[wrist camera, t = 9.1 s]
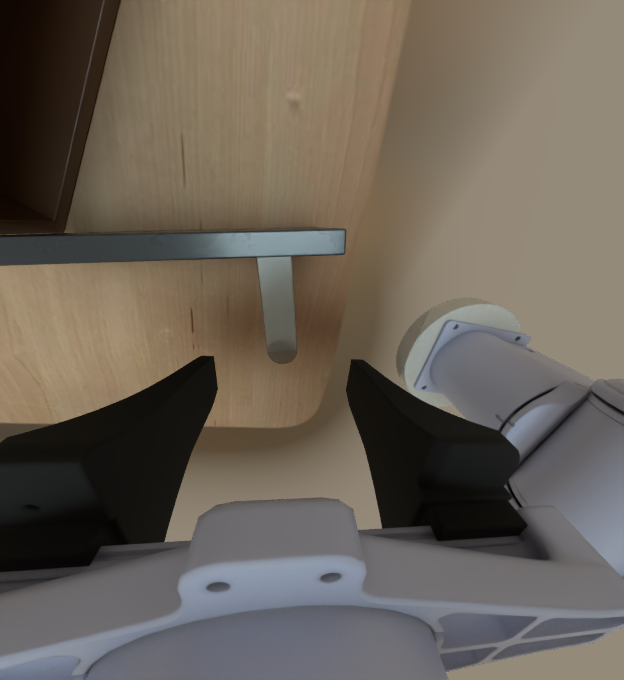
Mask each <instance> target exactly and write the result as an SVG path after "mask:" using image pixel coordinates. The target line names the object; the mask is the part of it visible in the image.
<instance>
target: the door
mask: <svg viewBox="0 0 624 680" xmlns="http://www.w3.org/2000/svg"><path fill="white" fill-rule="evenodd" d="M345 246H346V229H341V228H319V227H308V228H264V229H220V230H176V231H132V232H88V233H51V234H18V235H0V266H7V265H39V264H70V263H102V262H134V261H165V260H197V259H228V258H256V259H257V268H258V276H259V284H260V292H261V301H262V309H263V317H264V326H265V334H266V342H267V351H268V355H269V357H270V359H271V360H273V361H274V362H276V363H279V364H286V363H289V362H291V361H292V360H293V359H294V358H295V356H296V354H297V344H296V326H295V308H294V290H293V272H292V256H323V255H344V254H345Z"/></svg>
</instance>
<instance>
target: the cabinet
mask: <svg viewBox="0 0 624 680" xmlns="http://www.w3.org/2000/svg"><path fill="white" fill-rule="evenodd" d="M118 4H119V0H0V235H6V234H40V233H63V231H64V227H65V223H66V219H67V215H68V211H69V206H70V202H71V198H72V194H73V190H74V186H75V182H76V178H77V173H78V169H79V165H80V161H81V157H82V153H83V149H84V145H85V140H86V136H87V132H88V128H89V124H90V120H91V116H92V112H93V107H94V103H95V99H96V95H97V91H98V87H99V83H100V79H101V75H102V70H103V66H104V62H105V58H106V54H107V50H108V46H109V42H110V37H111V33H112V29H113V25H114V21H115V17H116V13H117V9H118Z"/></svg>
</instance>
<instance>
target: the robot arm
mask: <svg viewBox="0 0 624 680" xmlns="http://www.w3.org/2000/svg"><path fill="white" fill-rule="evenodd" d="M455 324H456V326H455V327H454V328H453V326H454V325H455ZM530 339H531V337H530V336H528V335H526V334H522V333H517V332H512V331H507V330H502V329H497V328H492V327H486V326H481V325H476V324H471V323H466V322H461V321H456V320H447V321H446V322H445V323H444V325H443V327H442V329H441V331H440V333H439V335H438V337H437V339H436V341H435V343H434V345H433V347H432V349H431V351H430V353H429V355H428V357H427V359H426V361H425V363H424V365H423V367H422V369H421V371H420V373H419V375H418V377H417V379H416V381H415V383H414V388H415V389H416V390H418V391H426V392H433V393H441V394H444V395H445V396H446V398H447V399H448V400H449V401H450V402H451V403H452V404H453V405H454V406H455V407H456V408H457V409H458V411H459V412H460V413H461V414H462V415H463V416H464V417H465V418H466V419H467V420H465V419H463V418H460V417H457V416H455V415H452V414H450V413H448V412H445V411H443V410H441V409H439V408H437V407H434V406H432V405H430V404H428V403H426V402H424V401H422V400H421V399H419V398H417V397H415V396H413V395H412V394H410V393H408V392H407V391H405V390H403V389H402V388H400V387H399V386H397V385H396V384H394V383H393V382H392V381H390V380H389V379H388V378H386V377H384V376H383V375H382V374H381V373H379V372H378V371H377V370H376V369H374V368H373V367H371V365H369V364H368V363H367V362H365V361H364V360H353V359H352V360H351V365H350V371H349V376H348V382H347V387H346V392H347V397H348V402H349V406H350V409H351V411H352V414H353V417H354V420H355V423H356V425H357V428H358V431H359V434H360V436H361V439H362V442H363V445H364V448H365V451H366V455H367V459H368V463H369V467H370V471H371V476H372V480H373V484H374V489H375V494H376V499H377V503H378V508H379V513H380V518H381V524H382V529H369V530H358V529H357V525H356V520H355V516H354V511H353V509H352V508H350V507H349V506H348V505H346V504H344V503H343V502H341V501H340V500H338V499H330V498H302V499H301V498H300V499H278V500H256V501H235V502H229V503H225V504H220V505H216V506H214V507H213V508H211V509H210V510H208V511H207V512H205V513H204V514H202V515H201V516H200V517H199V518H198V521H197V524H196V527H195V530H194V533H193V537H192V540H191V541H177V542H164V541H165V537H166V533H167V529H168V526H169V522H170V519H171V515H172V512H173V509H174V505H175V502H176V498H177V495H178V492H179V489H180V486H181V482H182V479H183V476H184V473H185V470H186V467H187V464H188V461H189V458H190V456H191V453H192V450H193V448H194V446H195V443H196V441H197V439H198V437H199V434H200V432H201V430H202V428H203V426H204V424H205V422H206V420H207V417H208V415H209V413H210V411H211V409H212V406H213V403H214V400H215V397H216V393H217V390H218V387H217V378H216V370H215V362H214V356H200V357H198V358H197V359H195V360H193V361H192V362H190V363H189V364H187V365H185V366H184V367H182V368H181V369H179V370H177V371H176V372H174V373H173V374H171V375H169V376H168V377H166V378H164V379H162V380H161V381H159V382H157V383H155V384H154V385H152V386H150V387H148V388H146V389H144V390H142V391H140V392H138V393H136V394H134V395H132V396H130V397H128V398H125V399H123V400H121V401H118V402H116V403H113V404H111V405H108V406H106V407H103V408H101V409H98V410H96V411H93V412H90V413H87V414H85V415H82V416H79V417H76V418H73V419H70V420H67V421H64V422H60V423H57V424H54V425H50V426H47V427H43V428H40V429H36V430H33V431H29V432H25V433H22V434H18V435H15V436H10V437H7V438H6V439H5V440H3V441H2V442H1V443H0V680H448V677H447V674H446V672H449V671H453V670H458V669H462V668H467V667H471V666H476V665H481V664H485V663H489V662H494V661H498V660H503V659H508V658H513V657H517V656H522V655H527V654H532V653H537V652H542V651H548V650H553V649H559V648H565V647H571V646H578V645H584V644H591V643H594V642H596V641H598V640H600V639H602V638H603V637H605V636H607V635H609V634H611V633H613V632H614V631H616V630H618V629H620V628H622V627H624V379H610V380H603V379H600V380H596V381H595V382H594V381H593V380H591V379H590V378H588V377H587V376H585V375H583V374H580V373H578V372H577V371H575V370H573V369H571V368H569V367H567V366H565V365H563V364H561V363H559V362H557V361H555V360H553V359H551V358H549V357H547V356H545V355H543V354H541V353H539V352H537V351H535V350H533V349H531V348H529V347H527V344H528V343H529V341H530ZM423 386H424V387H423Z"/></svg>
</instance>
